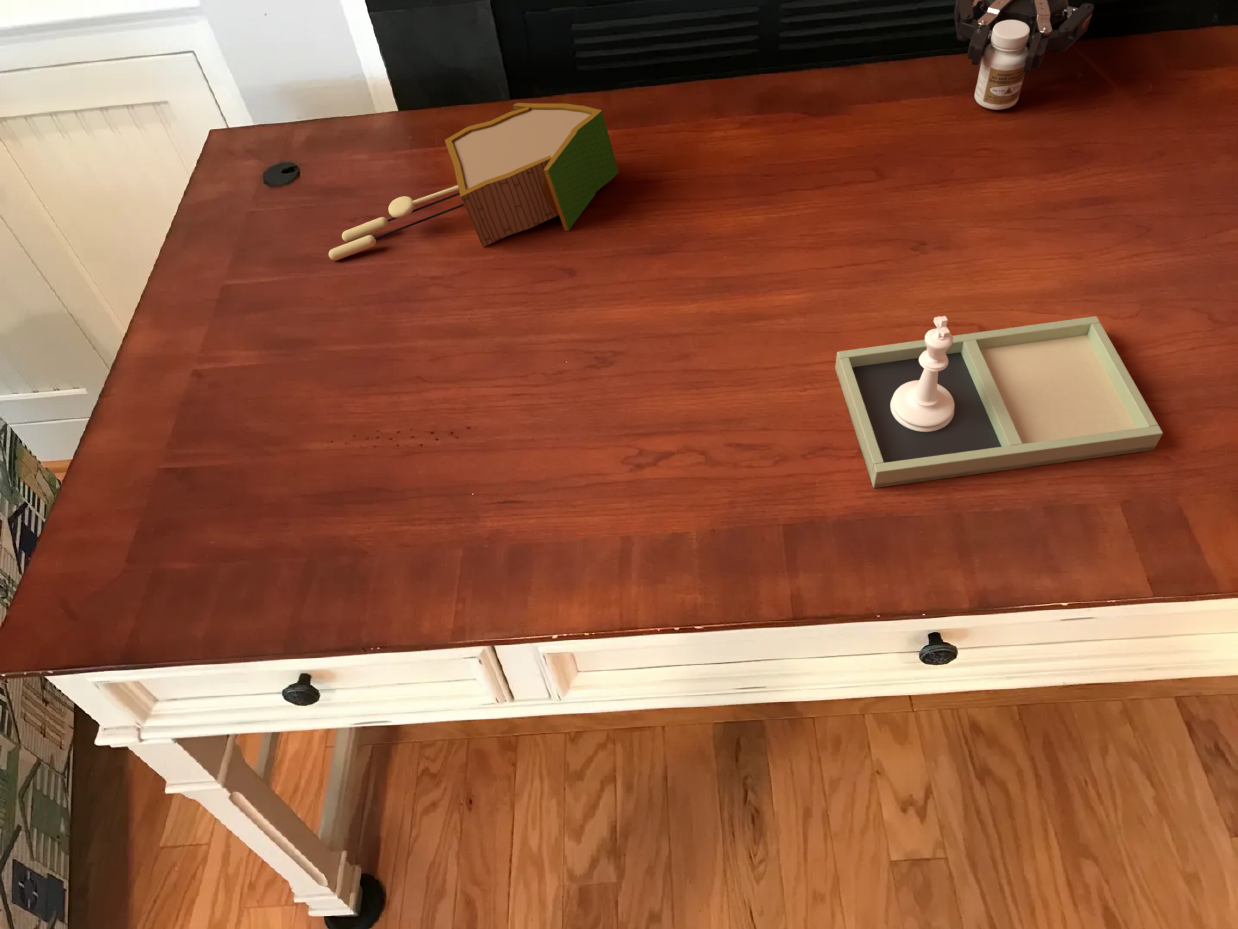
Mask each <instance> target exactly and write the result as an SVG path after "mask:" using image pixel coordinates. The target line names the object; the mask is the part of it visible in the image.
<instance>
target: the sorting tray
mask: <svg viewBox="0 0 1238 929" xmlns="http://www.w3.org/2000/svg"><path fill="white" fill-rule="evenodd" d="M952 337H953V343H952V345H951V346H950V347H949V349H948V350H947V351H946V352H945V354H946V355H947V358H948V365H947V367H946V368H945V369H943V370H941V371H938V380H937V384H939V385H941V386H942V387H944V388H945V389H946V390H947V391H948V392H949V393H950V394H951V396H952V398H953V400H954V415H953V418H952V420H951V421H950V422H949V424H947V425H946V426H945V427H943V428H941V429H939V430H936V431H931V432H920V431H915V430H912V429H909V428H907V427H905V426H903V425H902V424H900V423H899V422H898V421H897V420H896V419H895V418H894V416H893V414H892V412H891V408H890V403H891V399H892V397H893V395H894V393H895V391H896V390H897V389H898V388H899V387H900V386H901V385H903V384H905V383H907V382H910V381H915V380H920V378H921V375H922V373H923V371H924V368H923V367H922V366H921V365H920V363H919V357H920V355H921V354H922V353H923V352H924V351H926V350H927V347H926V344H925V339H919V340H911V341H906V342H905V341H904V342H898V343H890V344H883V345H875V346H869V347H861V348H854V349H847V350H840V351H837V352H836V358H835V365H834V370H835V373H836V376H837V380H838V382H839V385H840V389H841V391H842V395H843V397H844V401H845V404H846V407H847V410H848V414H849V417H850V421H851V423H852V427H853V429H854V433H855V435H856V438H857V442H858V444H859V447H860V448H859V449H860V450H861V454H862V457H863V460H864V463H865V466H866V470H867V472H868V475H869V479H870V481H871V485H872V488H874V489H876V488H883V487H890V486H891V487H892V486H898V485H906V484H913V483H914V484H915V483H921V482H928V481H935V480H943V479H951V478H958V477H965V476H973V475H980V474H987V473H994V472H1001V471H1008V470H1009V471H1010V470H1017V469H1022V468H1023V469H1025V468H1031V467H1038V466H1039V467H1040V466H1044V465H1045V466H1046V465H1053V464H1060V463H1068V462H1074V461H1076V462H1077V461H1082V460H1090V459H1097V458H1104V457H1105V458H1106V457H1111V456H1112V457H1113V456H1120V455H1127V454H1134V453H1141V452H1142V453H1143V452H1148V451H1154V450H1155V449H1156V446H1157V445H1158V443H1159V441H1160V439H1161V438H1162V436H1163V435H1164V434H1163V430H1162V428H1161V427H1160V425H1159V424H1158V422H1157V420H1156V418H1155V416H1154V414H1153V413H1152V411H1151V409H1150V408H1149V405H1148V404H1147V401H1145V399H1144V397H1143V395H1142V394H1141V392H1140V390H1139V388H1138V386H1137V385H1136V383H1135V381H1134V379H1133V377H1132V376H1131V374H1130V372H1129V370H1128V369H1127V367H1126V365H1125V364H1124V362H1123V360H1122V358H1121V356H1120V355H1119V353H1118V351H1117V349H1116V347H1115V346H1114V344H1113V342H1112V341H1111V339H1110V338H1109V337H1110V336H1108V333H1107V332H1106V330H1105V328H1104V326H1103V325H1102V323H1101V321H1100V319H1099V318H1098V316H1096V315H1094V316H1087V317H1080V318H1071V319H1066V320H1057V321H1049V322H1042V323H1035V324H1028V325H1022V326H1021V325H1020V326H1014V327H1007V328H1000V329H999V328H998V329H992V330H984V331H977V332H972V333H970V332H969V333H963V334H956V335H955V334H954V335H952Z"/></svg>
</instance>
